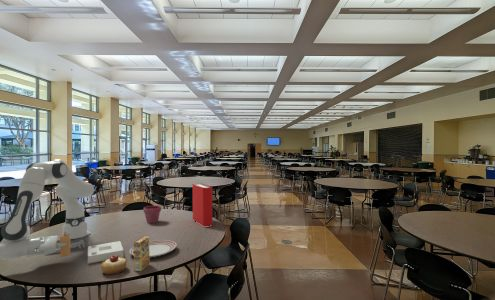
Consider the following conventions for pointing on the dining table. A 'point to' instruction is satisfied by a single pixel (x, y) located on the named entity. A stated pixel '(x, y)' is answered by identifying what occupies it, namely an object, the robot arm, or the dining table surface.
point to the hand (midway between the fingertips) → (67, 242)
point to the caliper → (72, 246)
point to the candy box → (141, 254)
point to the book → (202, 204)
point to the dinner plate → (158, 247)
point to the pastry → (114, 265)
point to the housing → (104, 251)
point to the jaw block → (65, 249)
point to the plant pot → (152, 213)
